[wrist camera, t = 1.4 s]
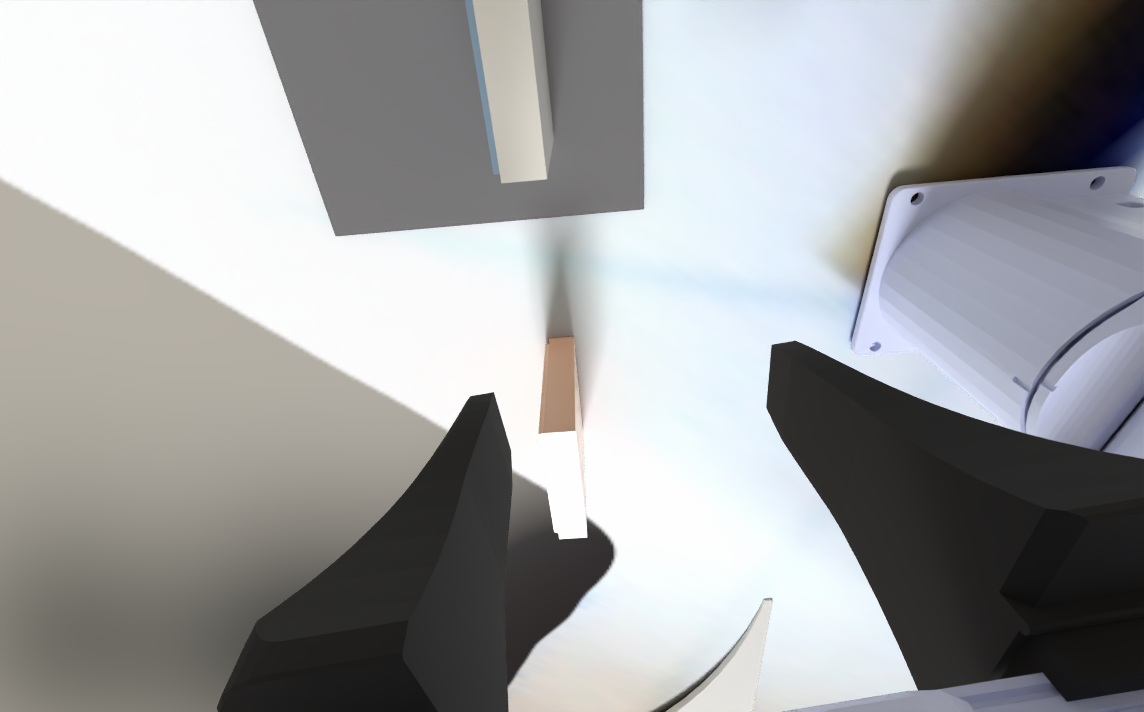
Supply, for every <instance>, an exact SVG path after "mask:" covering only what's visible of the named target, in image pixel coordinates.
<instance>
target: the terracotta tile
mask: <svg viewBox="0 0 1144 712" xmlns="http://www.w3.org/2000/svg"><path fill="white" fill-rule="evenodd" d="M539 440H540V447H541V453H542V459H543V465H544V471H545V478H546V484H547V490H548V496H549V502H550V508H551V515H552V521H553V527H554V532H558V534H559V539H567V538H585V537H587V525H586V496H585V470H584V443H583V425H582V415H581V405H580V394H579V384H578V374H577V364H576V353H575V343H574V336H572V337H559V338H549V344H546V345H545V358H544V371H543V384H542V396H541V409H540V422H539Z"/></svg>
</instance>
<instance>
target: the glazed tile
mask: <svg viewBox="0 0 1144 712" xmlns="http://www.w3.org/2000/svg"><path fill="white" fill-rule="evenodd" d="M465 4H466V10H467V16H468V22H469V29H470V35H471V41H472V47H473V53H474V59H475V65H476V71H477V77H478V83H479V89H480V95H481V101H482V108H483V114H484V120H485V126H486V132H487V138H488V144H489V150H490V156H491V162H492V168H493V174H500V178H501V183H512V182H523V181H534V180H545V179H547V176H548V170H549V165H550V159H551V153H552V147H553V141H554V133H553V123H552V112H551V102H550V92H549V82H548V72H547V61H546V51H545V41H544V31H543V21H542V10H541V0H465Z"/></svg>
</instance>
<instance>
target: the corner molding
mask: <svg viewBox="0 0 1144 712" xmlns="http://www.w3.org/2000/svg"><path fill="white" fill-rule="evenodd" d="M772 602H773V600H772V599H764V600H763V602H762V604H761V606H760V608H759V610H758V612H757V614H756V616H755V617H754V619H753V621H752V622H751V624H750V626H749V627H748V629H747V630H746V632H745V633H744V635H743V636H742V637H741V639H740V640H739V641H738V643H737V644H736V645H735V647H734V648H733V649H732V651H731V652H730V653H729V654H728V655H727V657H726V658H725V659H724V660H723V661H722V663H721V664H720V665H719V666H718V668H717V669H716V670H715V671H714V672H713V673H712V674H711V675H710V676H709V677H708V678H707V679H706V680H705V681H704V682H703V683H702V684H701V685H700V686H698V687H697V688H696V689H695V690H694V691H692V692H691V693H690V694H689V695H688V696H686V697H685V698H684V699H683V700H681V701H680V702H678V703H677V704H676V705H674V706H673V707H671V708H670V709H668V710H667V711H666V712H753V707H754V701H755V696H756V690H757V685H758V679H759V674H760V668H761V663H762V657H763V652H764V646H765V641H766V635H767V630H768V624H769V619H770V613H771V608H772Z"/></svg>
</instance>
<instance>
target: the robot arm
mask: <svg viewBox="0 0 1144 712" xmlns="http://www.w3.org/2000/svg"><path fill="white" fill-rule="evenodd" d="M1136 177H1137V170H1135V169H1134V168H1131V167H1126V166H1116V167H1104V168H1093V169H1082V170H1070V171H1059V172H1048V173H1036V174H1025V175H1014V176H1002V177H991V178H980V179H968V180H957V181H946V182H934V183H923V184H912V185H902V186H899V187H897V188H895V189H894V190H893V191H892V192H891V193H890V194H889V196H888V198H887V202H886V206H885V210H884V214H883V218H882V222H881V226H880V230H879V234H878V238H877V242H876V246H875V250H874V254H873V258H872V262H871V266H870V270H869V274H868V278H867V282H866V286H865V290H864V294H863V298H862V302H861V306H860V310H859V314H858V318H857V322H856V326H855V330H854V334H853V338H852V342H851V349H852V351H853V352H854V353H855V354H856V355H858V356H867V355H881V354H894V353H907V352H918V353H919V354H920V355H921V356H923V357H924V358H925V359H926V360H927V361H928V362H929V363H931V364H932V365H933V366H934V367H935V368H936V369H938V370H939V371H940V372H941V373H942V374H943V375H944V376H946V377H947V378H948V379H949V380H950V381H951V382H953V383H954V384H955V385H956V386H957V387H958V388H959V389H961V390H962V391H963V392H964V393H965V394H966V395H968V396H969V397H970V398H971V399H972V400H973V401H974V402H976V403H977V404H978V405H979V406H980V407H981V408H983V409H984V410H985V411H986V412H987V413H988V414H989V415H991V416H992V417H993V418H994V419H995V420H996V421H997V422H999V423H1000V424H1001V425H1002V426H1003V427H1001V426H998V425H994V424H991V423H987V422H984V421H981V420H978V419H975V418H972V417H969V416H966V415H963V414H960V413H957V412H954V411H951V410H949V409H946V408H943V407H940V406H937V405H935V404H932V403H929V402H927V401H924V400H922V399H919V398H917V397H914V396H912V395H910V394H907V393H905V392H903V391H900V390H898V389H896V388H893V387H891V386H889V385H887V384H884V383H882V382H880V381H878V380H876V379H874V378H871V377H869V376H867V375H865V374H863V373H861V372H859V371H857V370H855V369H853V368H851V367H849V366H847V365H845V364H843V363H841V362H839V361H837V360H835V359H833V358H831V357H829V356H827V355H825V354H823V353H821V352H819V351H817V350H815V349H813V348H811V347H809V346H806V345H804V344H802V343H800V342H797V341H792V342H786V343H780V344H774V345H772V348H771V360H770V371H769V383H768V395H767V406H766V408H767V410H768V412H769V414H770V416H771V418H772V420H773V423H774V425H775V427H776V429H777V431H778V433H779V435H780V437H781V439H782V440H783V442H784V444H785V445H786V447H787V448H788V450H789V451H790V453H791V454H792V456H793V457H794V459H795V460H796V462H797V463H798V465H799V466H800V468H801V469H802V471H803V472H804V474H805V475H806V476H807V478H808V479H809V481H810V482H811V484H812V485H813V487H814V488H815V490H816V491H817V493H818V494H819V496H820V497H821V499H822V500H823V501H824V503H825V504H826V506H827V507H828V509H829V510H830V512H831V514H832V515H833V517H834V518H835V520H836V522H837V523H838V525H839V527H840V528H841V530H842V532H843V534H844V536H845V538H846V540H847V542H848V543H849V545H850V547H851V549H852V551H853V553H854V555H855V556H856V558H857V560H858V562H859V564H860V566H861V568H862V570H863V572H864V574H865V576H866V578H867V580H868V582H869V584H870V586H871V588H872V590H873V592H874V594H875V596H876V598H877V600H878V602H879V604H880V606H881V609H882V611H883V613H884V615H885V617H886V619H887V621H888V624H889V626H890V628H891V630H892V632H893V634H894V636H895V639H896V641H897V643H898V645H899V647H900V649H901V652H902V654H903V656H904V659H905V661H906V663H907V666H908V668H909V670H910V673H911V675H912V677H913V679H914V682H915V684H916V686H917V689H918V691H905V692H899V693H893V694H887V695H881V696H875V697H869V698H863V699H856V700H850V701H844V702H838V703H832V704H826V705H820V706H814V707H808V708H802V709H795V710H789V711H783V712H1144V199H1142V198H1138V197H1134V196H1130V195H1128V194H1129V192H1130V190H1131V188H1132V186H1133V184H1134V182H1135V180H1136ZM1094 179H1096V180H1095V182H1094V183H1093V184H1092V185H1091V186H1090V184H1091V183H1092V181H1093V180H1094ZM915 193H918V197H917V199H916V200H915V201H914V202H911V198H912V196H913V195H914V194H915ZM875 342H877V343H876V344H875V345H874V346H873V347H870V346H871V345H872V344H873V343H875ZM511 495H512V463H511V449H510V446H509V443H508V439H507V436H506V432H505V429H504V426H503V422H502V419H501V415H500V412H499V409H498V405H497V402H496V399H495V395H494V392H493V393H487V394H482V395H476V396H470V398H469V399H468V400H467V402H466V404H465V405H464V407H463V408H462V410H461V412H460V413H459V415H458V417H457V418H456V420H455V422H454V423H453V425H452V427H451V428H450V430H449V431H448V433H447V435H446V436H445V438H444V439H443V441H442V442H441V444H440V445H439V447H438V448H437V450H436V451H435V453H434V454H433V456H432V457H431V459H430V460H429V461H428V463H427V464H426V465H425V467H424V468H423V469H422V471H421V472H420V473H419V475H418V476H417V478H416V479H415V480H414V481H413V483H412V484H411V485H410V486H409V488H408V489H407V490H406V491H405V493H404V494H403V495H402V496H401V497H400V498H399V500H398V501H397V502H396V503H395V504H394V505H393V506H392V507H391V509H390V510H389V511H388V512H387V513H386V514H385V515H384V516H383V517H382V518H381V519H380V520H379V521H378V522H377V523H376V524H375V525H374V526H373V527H372V528H371V529H370V530H369V531H368V532H367V533H366V534H365V535H364V536H363V537H362V538H361V539H359V540H358V541H357V543H355V544H354V545H353V546H352V547H351V548H350V549H349V550H348V551H346V552H345V554H343V555H342V556H341V557H340V558H339V559H337V560H336V561H335V562H334V563H333V564H331V565H330V566H329V567H328V568H327V569H325V570H324V571H323V572H322V573H321V574H319V575H318V576H317V577H316V578H314V579H313V580H312V581H311V582H309V583H308V584H307V585H306V586H304V587H303V588H302V589H300V590H299V591H298V592H296V593H295V594H293V595H292V596H291V597H289V598H288V599H287V600H285V601H284V602H283V603H282V604H280V605H279V606H277V607H276V608H274V609H273V610H272V611H271V612H269V613H268V614H266V615H265V616H263V617H262V618H261V619H259V620H258V621H257V622H256V624H255V626H254V628H253V630H252V632H251V634H250V636H249V638H248V639H247V641H246V643H245V646H244V648H243V650H242V652H241V654H240V656H239V659H238V661H237V663H236V665H235V667H234V669H233V672H232V674H231V676H230V678H229V681H228V683H227V685H226V687H225V689H224V691H223V694H222V696H221V698H220V701H219V703H218V706H217V710H218V712H508V690H507V665H506V631H505V630H506V629H505V565H506V554H507V543H508V531H509V520H510V508H511Z"/></svg>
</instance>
